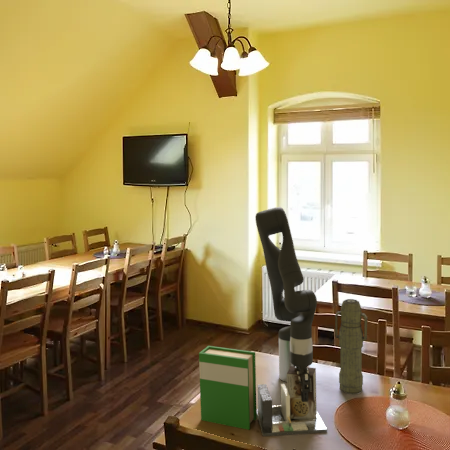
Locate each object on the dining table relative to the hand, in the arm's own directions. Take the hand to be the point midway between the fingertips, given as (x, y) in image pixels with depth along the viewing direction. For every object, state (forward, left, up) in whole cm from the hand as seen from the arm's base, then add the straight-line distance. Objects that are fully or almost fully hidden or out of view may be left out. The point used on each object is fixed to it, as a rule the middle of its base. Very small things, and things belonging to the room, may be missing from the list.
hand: (301, 395), depth 163 cm
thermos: (-21, +24, -9) cm, 33 cm away
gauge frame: (0, -4, -9) cm, 10 cm away
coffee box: (0, 0, -7) cm, 7 cm away
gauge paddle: (+2, -6, -8) cm, 10 cm away
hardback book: (-4, -25, -9) cm, 27 cm away
